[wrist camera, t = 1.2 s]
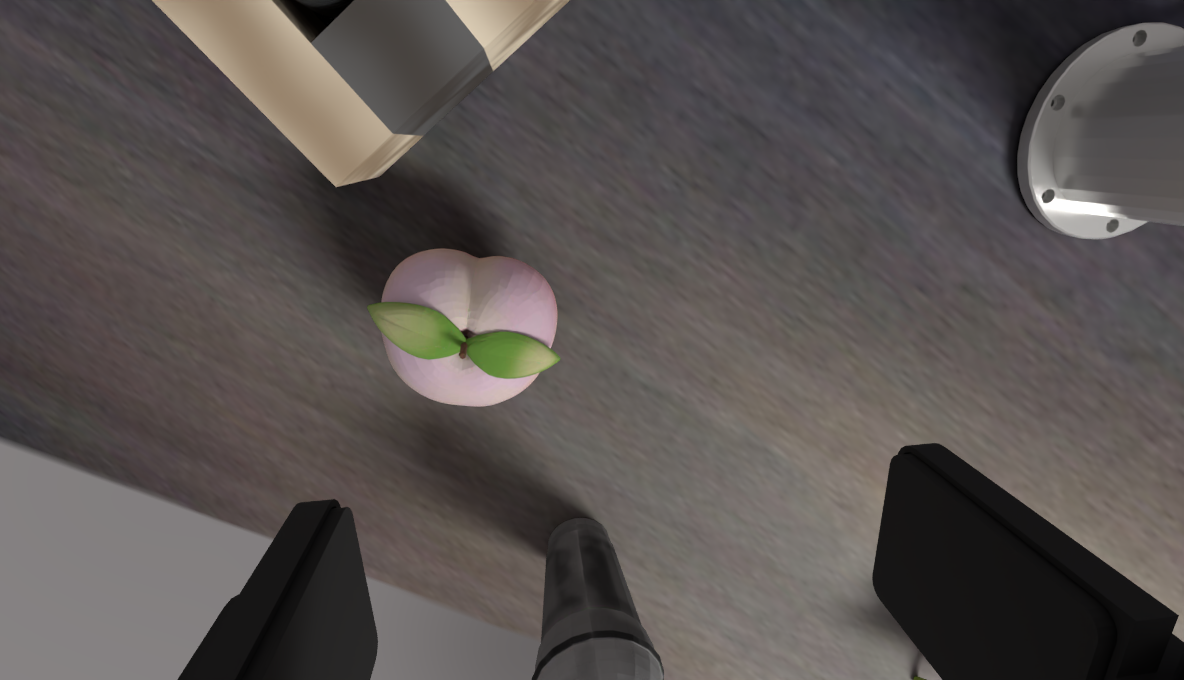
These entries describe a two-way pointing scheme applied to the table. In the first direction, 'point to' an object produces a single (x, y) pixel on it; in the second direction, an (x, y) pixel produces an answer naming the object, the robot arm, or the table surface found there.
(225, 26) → the band block
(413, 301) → the decorative fruit
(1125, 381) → the table surface
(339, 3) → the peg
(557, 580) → the beverage cup
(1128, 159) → the robot arm
